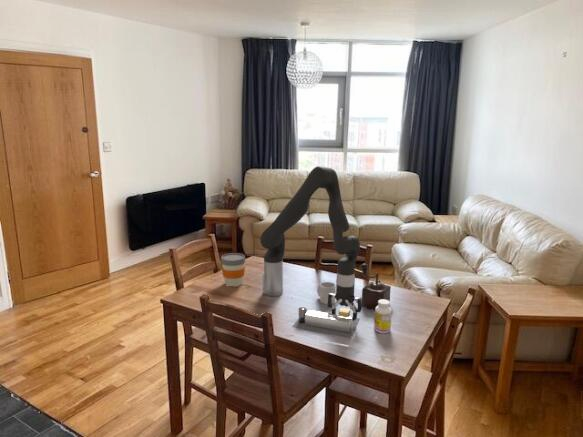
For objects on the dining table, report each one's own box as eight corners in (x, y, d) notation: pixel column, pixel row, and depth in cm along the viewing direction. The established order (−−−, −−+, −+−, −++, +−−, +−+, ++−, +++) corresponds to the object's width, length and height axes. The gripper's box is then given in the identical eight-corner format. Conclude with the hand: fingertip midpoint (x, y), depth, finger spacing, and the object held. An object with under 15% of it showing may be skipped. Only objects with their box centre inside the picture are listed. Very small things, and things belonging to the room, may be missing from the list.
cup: (327, 307, 198) (328, 289, 196) (312, 300, 205) (312, 282, 203) (338, 302, 202) (338, 285, 200) (322, 296, 210) (323, 279, 207)
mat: (291, 328, 178) (291, 326, 178) (305, 310, 194) (305, 309, 194) (350, 339, 169) (350, 338, 169) (360, 319, 185) (360, 318, 185)
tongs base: (296, 323, 181) (297, 310, 179) (300, 319, 184) (300, 306, 183) (348, 333, 173) (349, 319, 171) (351, 328, 176) (351, 315, 175)
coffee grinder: (390, 304, 201) (393, 268, 197) (382, 312, 192) (384, 275, 188) (360, 296, 210) (362, 261, 205) (350, 304, 201) (352, 268, 196)
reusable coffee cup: (216, 285, 222) (215, 257, 218) (232, 277, 232) (231, 251, 229) (235, 290, 216) (234, 262, 212) (250, 282, 226) (250, 255, 222)
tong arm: (306, 321, 182) (307, 311, 181) (308, 319, 184) (308, 309, 183) (350, 329, 175) (350, 319, 174) (351, 327, 177) (352, 317, 176)
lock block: (338, 324, 180) (338, 311, 179) (340, 320, 184) (341, 307, 182) (347, 326, 179) (347, 313, 177) (349, 321, 182) (350, 309, 181)
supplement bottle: (372, 326, 180) (373, 298, 177) (387, 325, 180) (389, 297, 177) (376, 334, 173) (378, 305, 170) (392, 333, 174) (394, 304, 171)
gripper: (364, 282, 178) (362, 317, 182) (331, 277, 183) (330, 311, 187) (360, 288, 171) (358, 325, 175) (326, 283, 176) (325, 319, 180)
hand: (344, 318), depth 181 cm, fingers open, 8 cm apart
